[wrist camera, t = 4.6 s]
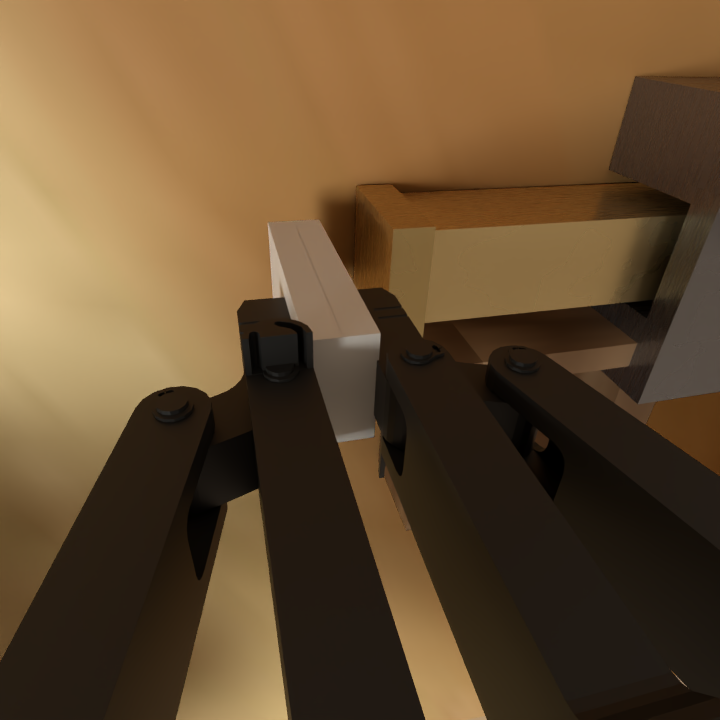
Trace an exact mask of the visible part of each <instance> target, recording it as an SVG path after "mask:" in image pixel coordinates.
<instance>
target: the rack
mask: <svg viewBox="0 0 720 720" xmlns="http://www.w3.org/2000/svg"><path fill="white" fill-rule="evenodd" d="M423 339H425V340H430V341H433V342H435V343H437V344H440V345H442V346H443V347H444V348H445V349H446V350H447V351H448V352H449V353H450V354H451V356H452V357H453V359H454V360H455V361H457V362H463V363H474V364H486V365H488V360H489V356H490V354H491V353H492V351H493V350H495V349H497V348H499V347H504V346H511V345H517V346H525V347H527V348H531V349H535V350H537V351H539V352H541V353H543V354H545V355H546V356H548V357H549V358H551V359H552V360H553V361H555V362H556V363H558V364H559V365H561V366H562V367H564V368H565V369H566V370H568V371H569V372H571V373H572V374H574V375H575V376H576V377H578V378H579V379H581V380H582V381H584V382H585V383H586V384H588V385H589V386H591V387H592V388H594V389H595V390H596V391H598V392H599V393H601V394H602V395H604V396H605V397H606V398H608V399H609V400H611V401H612V402H614V403H615V404H617V405H618V406H619V407H621V408H622V409H624V410H625V411H627V412H628V413H629V414H631V415H632V416H634V417H635V418H637V419H638V420H639V421H641V422H642V423H644V424H645V425H646V423H647V421H648V418H649V416H650V414H651V411H652V409H653V407H654V405H655V402H650V403H644V404H637V403H636V402H635V401H634V400H632V399H631V398H630V397H629V396H628V395H627V394H626V393H625V392H624V391H623V390H622V389H621V388H619V387H618V386H617V385H616V384H615V383H614V382H613V381H612V380H611V379H610V378H609V377H608V376H606V375H605V374H604V373H603V372H602V371H601V370H605V369H612V368H620V367H627V366H629V364H630V361H631V358H632V356H633V353H634V351H635V348H636V345H637V343H636V342H635V341H634V340H633V339H631V338H630V337H629V336H628V335H626V334H625V333H624V332H622V331H621V330H620V329H619V328H617V327H616V326H615V325H614V324H612V323H611V322H610V321H608V320H607V319H606V318H605V317H603V316H602V315H601V314H599V313H598V312H597V311H596V310H594V309H593V308H592V307H591V306H586V307H576V308H566V309H557V310H547V311H537V312H528V313H518V314H508V315H498V316H489V317H479V318H469V319H459V320H450V321H440V322H430V323H424V332H423ZM380 442H381V436H380ZM535 442H536V443H537V444H539V445H540V446H541V447H543V448H546V447H547V445H548V442H549V439H548V438H547V437H546V436H545V435H544V434H543V433H541V432H540V431H539V430H538V432H537V435H536V439H535ZM379 456H380V449H379ZM384 477H385V479H386V482H387V484H388V487H389V489H390V492H391V494H392V497H393V499H394V502H395V504H396V507H397V509H398V512H399V514H400V517H401V519H402V522H403V524H404V527H405V530H406V531H407V530H411V527H410V525H409V522H408V519H407V517H406V514H405V512H404V509H403V507H402V504H401V502H400V499H399V497H398V494H397V492H396V489H395V487H394V484H393V482H392V479H391V477H390V474H389V472H388V469H387V467H385V473H384Z"/></svg>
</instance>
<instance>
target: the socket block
mask: <svg viewBox="0 0 720 720" xmlns="http://www.w3.org/2000/svg"><path fill="white" fill-rule="evenodd" d="M609 170H611V171H614V172H616V173H618V174H621V175H623V176H626V177H628V178H630V179H633V180H635V181H637V182H640V183H642V184H645V185H647V186H649V187H652V188H654V189H656V190H659V191H661V192H664V193H666V194H668V195H671V196H673V197H676V198H678V199H680V200H683V201H685V202H687V203H690V204H691V205H690V207H689V210H688V213H687V215H686V218H685V220H684V223H683V226H682V228H681V231H680V234H679V236H678V239H677V241H676V244H675V247H674V249H673V252H672V254H671V257H670V260H669V262H668V265H667V267H666V270H665V273H664V275H663V278H662V280H661V283H660V286H659V288H658V291H657V293H656V296H655V299H654V300H644V301H635V302H625V303H615V304H605V305H596V306H591V307H592V308H593V309H594V310H596V311H597V312H598V313H599V314H601V315H602V316H603V317H605V318H606V319H607V320H608V321H610V322H611V323H612V324H614V325H615V326H616V327H617V328H619V329H620V330H621V331H622V332H624V333H625V334H626V335H628V336H629V337H630V338H631V339H633V340H634V341H635V342H636V343H637V345H636V348H635V351H634V353H633V356H632V358H631V361H630V364H629V366H627V367H620V368H612V369H605V370H601V371H602V372H603V373H604V374H605V375H606V376H608V377H609V378H610V379H611V380H612V381H613V382H614V383H615V384H616V385H617V386H618V387H619V388H621V389H622V390H623V391H624V392H625V393H626V394H627V395H628V396H629V397H630V398H631V399H632V400H634V401H635V402H636V403H637V404H644V403H650V402H656V401H663V400H669V399H676V398H682V397H689V396H695V395H702V394H708V393H715V392H720V77H635V80H634V83H633V87H632V90H631V94H630V97H629V101H628V104H627V108H626V111H625V115H624V118H623V122H622V125H621V129H620V132H619V136H618V139H617V143H616V146H615V150H614V153H613V157H612V160H611V164H610V167H609Z"/></svg>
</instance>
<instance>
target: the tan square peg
mask: <svg viewBox="0 0 720 720" xmlns="http://www.w3.org/2000/svg"><path fill="white" fill-rule="evenodd" d="M690 205H691V204H690V203H687V202H685V201H683V200H680V199H678V198H676V197H673V196H671V195H668V194H666V193H664V192H661V191H659V190H656V189H654V188H652V187H649V186H647V185H645V184H642V183H621V184H598V185H575V186H552V187H529V188H506V189H483V190H460V191H437V192H414V193H400V192H399V191H398V190H397V189H396V188H395V187H394V186H393V185H392V184H388V185H363V186H356V213H355V246H354V279H353V283H354V285H355V287H356V289H368V288H380V287H382V288H383V289H385V290H387V291H388V292H390V293H392V294H393V295H395V296H396V298H397V299H398V301H399V302H400V304H401V305H402V308H403V309H404V310H405V312H406V313H407V316H409V318H410V319H411V321H412V322H413V324H414V325H415V327H416V328H417V330H418V331H419V333H420V334H421V336H422V337H423V332H424V323H430V322H440V321H450V320H459V319H469V318H479V317H489V316H498V315H508V314H518V313H528V312H537V311H547V310H557V309H566V308H576V307H586V306H596V305H605V304H615V303H625V302H635V301H644V300H654V299H655V296H656V293H657V291H658V288H659V286H660V283H661V280H662V278H663V275H664V273H665V270H666V267H667V265H668V262H669V260H670V257H671V254H672V252H673V249H674V247H675V244H676V241H677V239H678V236H679V234H680V231H681V228H682V226H683V223H684V220H685V218H686V215H687V213H688V210H689V207H690Z"/></svg>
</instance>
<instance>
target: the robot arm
mask: <svg viewBox="0 0 720 720" xmlns="http://www.w3.org/2000/svg"><path fill="white" fill-rule="evenodd" d="M268 232H269V247H270V262H271V277H272V291H273V298H269V299H258V300H246V301H244V302H243V303H242V305H241V306H240V308H239V309H238V311H237V315H238V324H239V333H240V342H241V351H242V360H243V368H244V375H243V377H242V379H241V380H240V381H239V382H238V383H237V384H236V385H235V386H234V387H233V388H231V389H230V390H228V391H226V392H224V393H221V394H219V395H217V396H214V397H211V398H209V397H208V395H207V394H206V393H205V392H203V391H201V390H199V389H197V388H192V387H185V386H180V387H170V388H166V389H163V390H160V391H157V392H154V393H152V394H151V395H149V396H147V397H146V398H144V399H143V400H142V401H141V402H140V403H139V404H138V406H137V407H136V408H135V410H134V412H133V413H132V415H131V417H130V419H129V421H128V423H127V425H126V427H125V429H124V430H123V432H122V434H121V436H120V438H119V440H118V442H117V444H116V445H115V447H114V449H113V451H112V453H111V455H110V457H109V459H108V460H107V462H106V464H105V466H104V468H103V470H102V472H101V474H100V476H99V477H98V479H97V481H96V483H95V485H94V487H93V489H92V491H91V492H90V494H89V496H88V498H87V500H86V502H85V504H84V506H83V507H82V509H81V511H80V513H79V515H78V517H77V519H76V521H75V522H74V524H73V526H72V528H71V530H70V532H69V534H68V536H67V538H66V539H65V541H64V543H63V545H62V547H61V549H60V551H59V553H58V554H57V556H56V558H55V560H54V562H53V564H52V566H51V568H50V569H49V571H48V573H47V575H46V577H45V579H44V581H43V583H42V585H41V586H40V588H39V590H38V592H37V594H36V596H35V598H34V600H33V601H32V603H31V605H30V607H29V609H28V611H27V613H26V615H25V616H24V618H23V620H22V622H21V624H20V626H19V628H18V630H17V632H16V633H15V635H14V637H13V639H12V641H11V643H10V645H9V647H8V648H7V650H6V652H5V654H4V656H3V658H2V660H1V662H0V720H176V715H177V711H178V707H179V703H180V699H181V695H182V691H183V687H184V683H185V679H186V675H187V671H188V667H189V663H190V659H191V655H192V651H193V646H194V642H195V638H196V634H197V630H198V626H199V622H200V618H201V614H202V610H203V606H204V602H205V598H206V594H207V590H208V586H209V582H210V577H211V573H212V569H213V565H214V561H215V557H216V553H217V549H218V545H219V541H220V537H221V533H222V529H223V525H224V521H225V517H226V513H227V502H229V501H231V500H233V499H235V498H238V497H240V496H242V495H244V494H247V493H249V492H251V491H253V490H256V489H258V490H259V497H260V505H261V513H262V521H263V528H264V536H265V544H266V552H267V559H268V567H269V575H270V583H271V590H272V598H273V606H274V614H275V621H276V629H277V637H278V645H279V652H280V660H281V668H282V676H283V683H284V691H285V699H286V707H287V714H288V720H425V717H424V714H423V711H422V707H421V704H420V701H419V698H418V695H417V692H416V688H415V685H414V682H413V679H412V676H411V673H410V670H409V666H408V663H407V660H406V657H405V654H404V651H403V648H402V644H401V641H400V638H399V635H398V632H397V629H396V626H395V622H394V619H393V616H392V613H391V610H390V607H389V604H388V600H387V597H386V594H385V591H384V588H383V585H382V581H381V578H380V575H379V572H378V569H377V566H376V563H375V559H374V556H373V553H372V550H371V547H370V544H369V541H368V537H367V534H366V531H365V528H364V525H363V522H362V519H361V515H360V512H359V509H358V506H357V503H356V500H355V497H354V493H353V490H352V487H351V484H350V481H349V478H348V475H347V471H346V468H345V465H344V462H343V459H342V456H341V452H340V449H339V446H338V442H345V441H351V440H358V439H365V438H371V437H374V433H375V418H376V421H377V423H378V425H379V428H380V430H381V442H380V456H379V470H378V471H379V478H384V473H385V467H387V469H388V472H389V474H390V477H391V479H392V482H393V484H394V487H395V489H396V492H397V494H398V497H399V499H400V502H401V504H402V507H403V509H404V512H405V514H406V517H407V519H408V522H409V525H410V527H411V530H412V532H413V535H414V537H415V540H416V542H417V545H418V547H419V550H420V552H421V555H422V557H423V560H424V562H425V565H426V567H427V570H428V572H429V575H430V577H431V580H432V582H433V585H434V587H435V590H436V592H437V595H438V598H439V600H440V603H441V605H442V608H443V610H444V613H445V615H446V618H447V620H448V623H449V625H450V628H451V630H452V633H453V635H454V638H455V640H456V643H457V645H458V648H459V650H460V653H461V655H462V658H463V660H464V663H465V665H466V668H467V671H468V673H469V676H470V678H471V681H472V683H473V686H474V688H475V691H476V693H477V696H478V698H479V701H480V703H481V706H482V708H483V711H484V713H485V716H486V718H487V720H720V476H718V475H717V474H715V473H714V472H713V471H711V470H710V469H708V468H707V467H705V466H704V465H702V464H701V463H700V462H698V461H697V460H695V459H694V458H692V457H691V456H690V455H688V454H687V453H685V452H684V451H682V450H681V449H680V448H678V447H677V446H675V445H674V444H672V443H671V442H670V441H668V440H667V439H665V438H664V437H662V436H661V435H660V434H658V433H657V432H655V431H654V430H652V429H651V428H649V427H648V426H647V425H645V424H644V423H642V422H641V421H639V420H638V419H637V418H635V417H634V416H632V415H631V414H629V413H628V412H627V411H625V410H624V409H622V408H621V407H619V406H618V405H617V404H615V403H614V402H612V401H611V400H609V399H608V398H606V397H605V396H604V395H602V394H601V393H599V392H598V391H596V390H595V389H594V388H592V387H591V386H589V385H588V384H586V383H585V382H584V381H582V380H581V379H579V378H578V377H576V376H575V375H574V374H572V373H571V372H569V371H568V370H566V369H565V368H564V367H562V366H561V365H559V364H558V363H556V362H555V361H553V360H552V359H551V358H549V357H548V356H546V355H545V354H543V353H541V352H539V351H537V350H535V349H531V348H527V347H525V346H517V345H511V346H504V347H499V348H497V349H495V350H493V351H492V353H491V354H490V356H489V360H488V365H486V364H474V363H463V362H457V361H455V360H454V359H453V357H452V356H451V354H450V353H449V352H448V351H447V350H446V349H445V348H444V347H443V346H442V345H440V344H437V343H435V342H433V341H430V340H425V339H423V337H422V336H421V334H420V333H419V331H418V330H417V328H416V327H415V325H414V324H413V322H412V321H411V319H410V318H409V316H407V313H406V312H405V310H404V309H403V308H402V305H401V304H400V302H399V301H398V299H397V298H396V296H395V295H393V294H392V293H390V292H388V291H387V290H385V289H383V288H382V287H380V288H368V289H356V287H355V285H354V283H353V281H352V279H351V277H350V276H349V274H348V272H347V270H346V268H345V266H344V265H343V263H342V261H341V259H340V257H339V255H338V253H337V252H336V250H335V248H334V246H333V244H332V242H331V241H330V239H329V237H328V235H327V233H326V231H325V229H324V228H323V226H322V224H321V222H320V220H319V219H318V220H300V221H282V222H268ZM538 430H539V431H540V432H541V433H543V434H544V435H545V436H546V437H547V438H548V439H549V442H548V445H547V447H546V448H543V447H541V446H540V445H539V444H537V443H536V442H535V439H536V435H537V432H538ZM670 669H671V670H672V671H673V672H674V673H675V674H676V675H677V677H678V678H679V679H680V680H681V681H682V682H683V683H684V684H685V685H686V686H687V687H688V688H687V687H686V686H684V685H683V684H682V683H681V682H680V681H679V680H678V678H677V677H676V676H675V675H674V674H673V673H672V671H671V670H670Z"/></svg>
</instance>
